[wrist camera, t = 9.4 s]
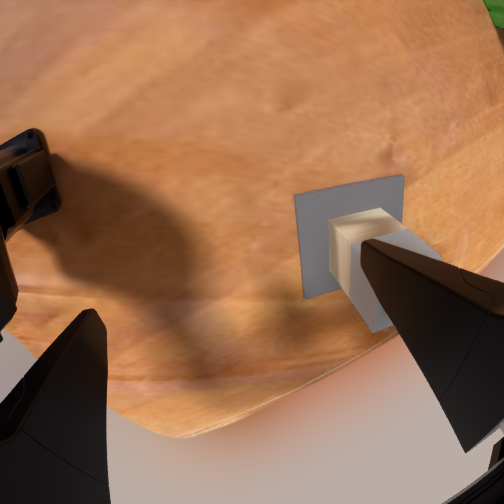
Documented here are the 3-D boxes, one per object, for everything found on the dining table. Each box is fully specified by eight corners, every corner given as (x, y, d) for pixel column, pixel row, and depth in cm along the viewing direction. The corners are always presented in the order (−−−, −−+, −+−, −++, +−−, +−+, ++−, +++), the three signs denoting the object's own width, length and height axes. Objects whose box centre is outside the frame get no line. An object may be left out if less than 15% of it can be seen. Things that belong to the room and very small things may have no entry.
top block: (349, 298, 23) (372, 333, 19) (350, 244, 20) (380, 276, 16) (400, 281, 23) (427, 310, 20) (407, 228, 20) (440, 255, 17)
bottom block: (329, 270, 26) (349, 298, 23) (327, 219, 23) (351, 243, 20) (377, 256, 26) (400, 281, 23) (380, 207, 24) (407, 228, 20)
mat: (303, 296, 27) (304, 299, 27) (293, 194, 22) (295, 196, 22) (394, 268, 28) (396, 271, 28) (401, 174, 23) (404, 175, 23)
